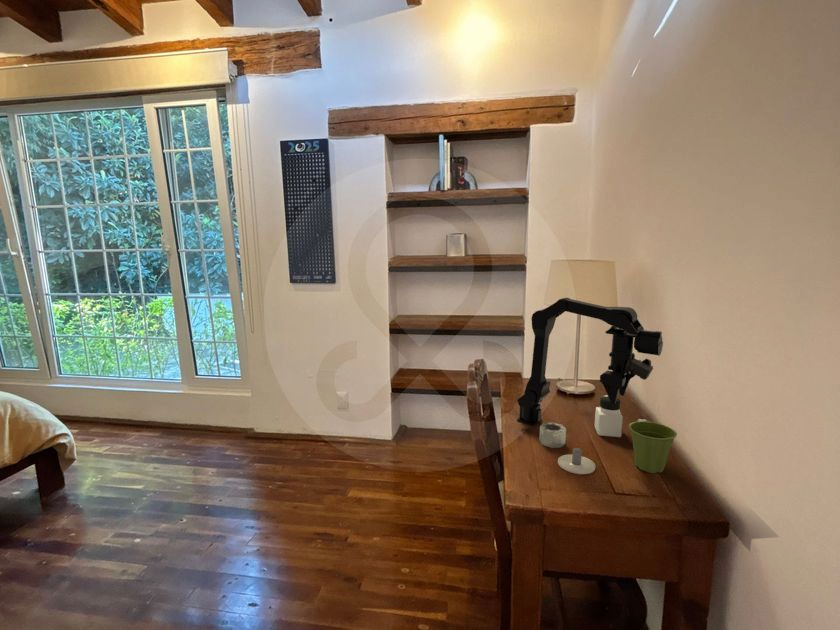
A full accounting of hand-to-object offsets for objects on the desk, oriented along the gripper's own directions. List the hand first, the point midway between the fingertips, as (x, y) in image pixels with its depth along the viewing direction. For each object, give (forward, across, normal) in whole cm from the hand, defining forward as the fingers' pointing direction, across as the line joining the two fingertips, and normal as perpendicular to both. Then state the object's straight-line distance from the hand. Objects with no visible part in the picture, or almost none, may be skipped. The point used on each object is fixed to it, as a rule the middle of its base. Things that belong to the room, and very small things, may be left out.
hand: (617, 399), depth 136 cm
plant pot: (+15, -8, -12) cm, 21 cm away
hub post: (+15, -20, +4) cm, 25 cm away
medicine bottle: (+15, +8, +4) cm, 17 cm away
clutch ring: (+15, -11, +15) cm, 24 cm away
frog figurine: (+15, +9, -7) cm, 19 cm away
